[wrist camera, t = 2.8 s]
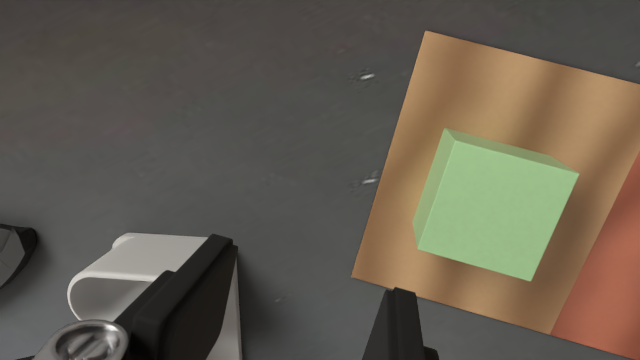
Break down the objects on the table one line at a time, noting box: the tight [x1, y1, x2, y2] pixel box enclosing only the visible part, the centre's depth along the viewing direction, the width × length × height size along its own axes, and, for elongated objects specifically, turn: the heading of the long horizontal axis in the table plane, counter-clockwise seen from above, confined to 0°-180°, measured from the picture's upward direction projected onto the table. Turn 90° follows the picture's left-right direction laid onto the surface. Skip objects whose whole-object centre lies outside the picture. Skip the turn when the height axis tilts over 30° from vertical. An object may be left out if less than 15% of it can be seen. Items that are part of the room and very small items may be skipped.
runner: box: [351, 31, 640, 360], centre depth 29 cm, size 30×18×1 cm, turn 76°
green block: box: [412, 128, 579, 281], centre depth 27 cm, size 7×7×4 cm
